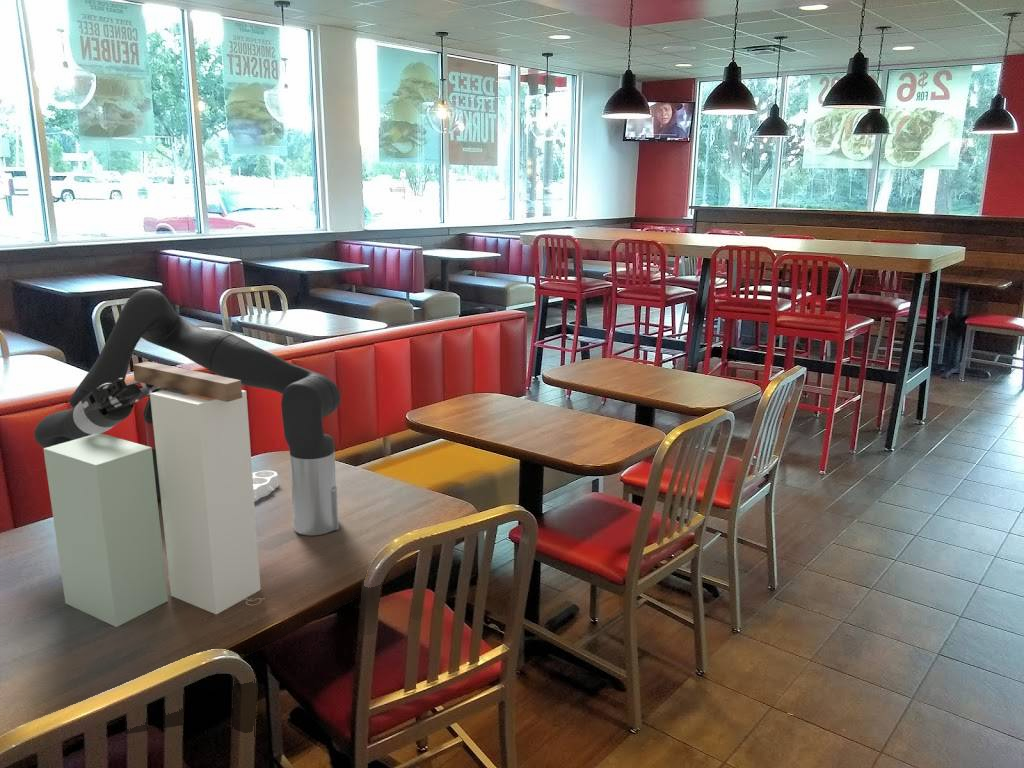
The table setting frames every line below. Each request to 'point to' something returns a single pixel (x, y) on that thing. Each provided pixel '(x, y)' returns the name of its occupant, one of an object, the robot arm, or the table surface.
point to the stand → (206, 498)
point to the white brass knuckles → (264, 483)
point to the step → (107, 526)
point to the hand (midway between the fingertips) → (145, 377)
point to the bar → (188, 381)
